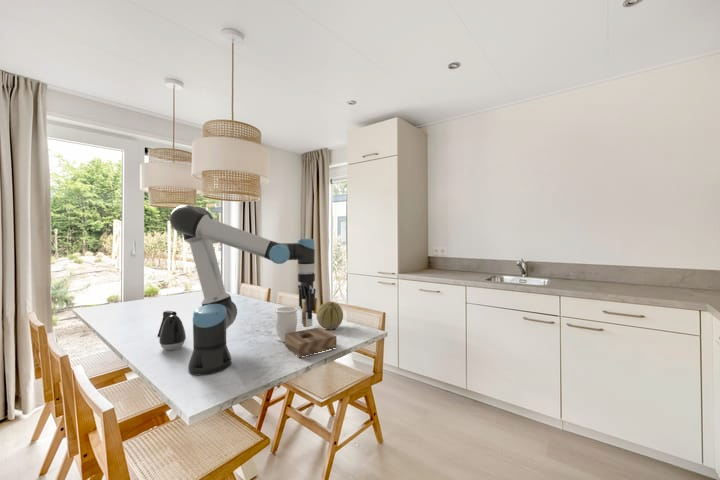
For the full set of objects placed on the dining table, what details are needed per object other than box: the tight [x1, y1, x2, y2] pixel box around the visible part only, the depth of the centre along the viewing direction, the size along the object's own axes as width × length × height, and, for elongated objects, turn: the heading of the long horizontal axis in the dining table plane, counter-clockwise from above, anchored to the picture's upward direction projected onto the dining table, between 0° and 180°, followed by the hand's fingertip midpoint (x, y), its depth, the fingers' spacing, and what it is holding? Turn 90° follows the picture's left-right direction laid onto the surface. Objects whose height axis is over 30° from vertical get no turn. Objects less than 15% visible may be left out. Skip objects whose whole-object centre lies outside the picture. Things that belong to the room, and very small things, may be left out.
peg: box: [301, 299, 310, 328], centre depth 140 cm, size 4×4×12 cm
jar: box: [274, 306, 298, 343], centre depth 152 cm, size 11×10×15 cm
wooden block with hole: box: [284, 326, 337, 358], centre depth 141 cm, size 18×16×6 cm
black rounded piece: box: [157, 310, 178, 338], centre depth 159 cm, size 9×6×12 cm, turn 159°
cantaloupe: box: [316, 301, 344, 330], centre depth 169 cm, size 15×15×15 cm
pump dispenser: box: [159, 315, 187, 352], centre depth 140 cm, size 10×10×15 cm
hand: (306, 324), depth 140 cm, fingers closed on peg, 4 cm apart
